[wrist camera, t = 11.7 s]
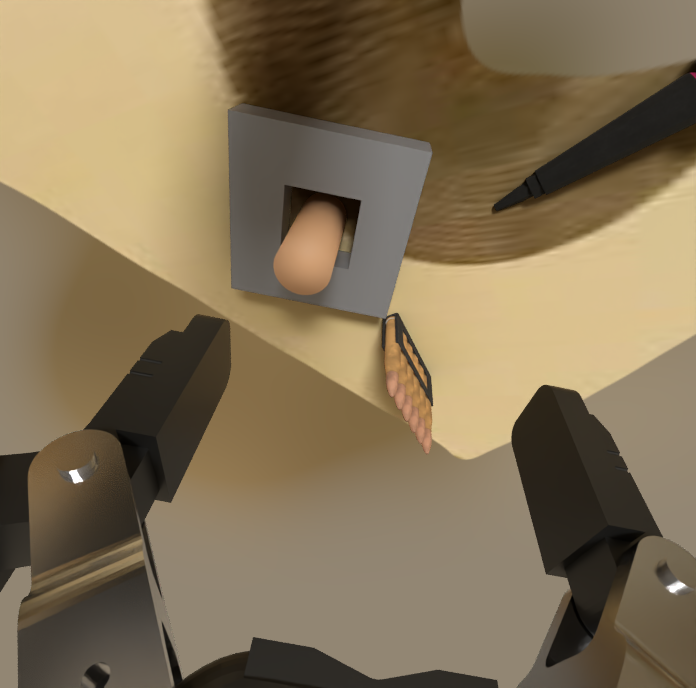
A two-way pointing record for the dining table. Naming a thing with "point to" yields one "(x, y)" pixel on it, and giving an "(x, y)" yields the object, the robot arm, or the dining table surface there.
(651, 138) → the microphone
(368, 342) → the dining table surface
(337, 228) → the peg
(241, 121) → the socket block
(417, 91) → the dining table surface
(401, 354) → the ammunition clip
